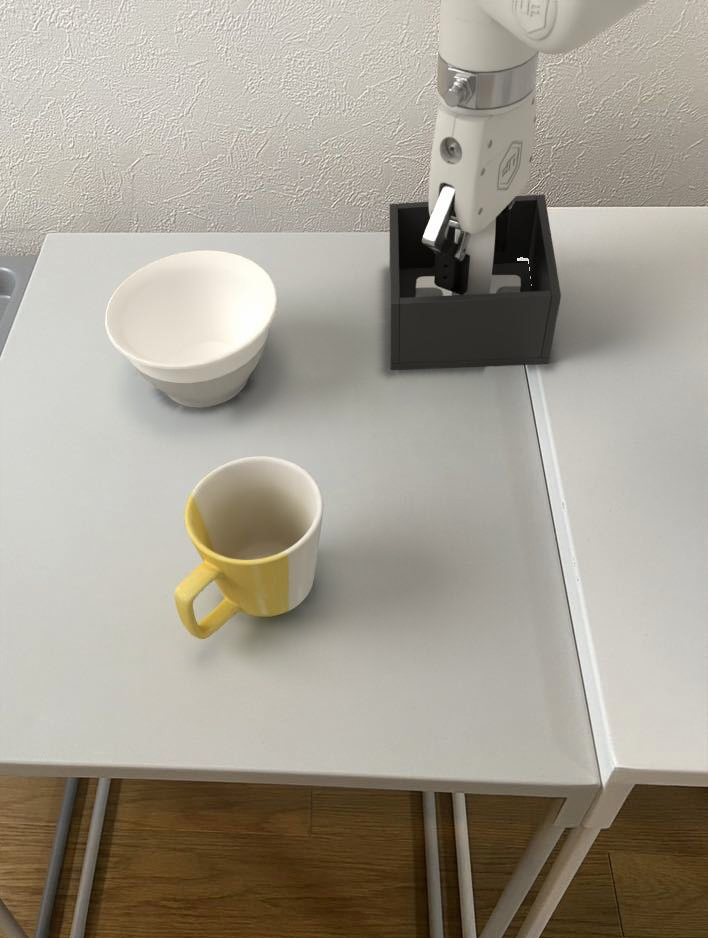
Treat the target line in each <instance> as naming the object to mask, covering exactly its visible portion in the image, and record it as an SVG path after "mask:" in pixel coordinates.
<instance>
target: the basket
mask: <svg viewBox="0 0 708 938" xmlns="http://www.w3.org/2000/svg"><path fill="white" fill-rule="evenodd" d="M507 211H509V212H511V217H510V225H509V234H508V243H507V248H506V249H505V250H504V251H503V252H498V251H495V250H494V257H493V267H492V275H517V276H519V277H520V279H521V288H520V292H511V293H491V294H470V295H450V296H429V297H416V280H417V279H418V278H419V277H424V276H434V275H435V253H434V252H433V251H432V250H431V249H430V248H429V247H427V246H426V245H424V244H423V243H422V238H423V235H424V233H425V230H426V228H427V225H428V223H429V220H430V214H429V202H428V201H416V202H415V201H414V202H402V203H401V202H400V203H389V259H388V260H389V263H388V264H389V339H390V340H389V344H390V345H389V346H390V347H389V348H390V349H389V350H390V355H389V356H390V357H389V358H390V360H389V361H390V370H415V369H416V370H417V369H441V368H442V369H443V368H467V367H469V368H470V367H494V366H495V367H496V366H520V365H521V366H522V365H543V364H544V365H546V364H549V362H550V357H551V352H552V347H553V342H554V341H553V340H554V337H555V332H556V331H555V330H556V324H557V321H558V316H559V315H558V314H559V309H560V304H561V298H562V294H561V288H560V287H561V286H560V281H559V274H558V268H557V262H556V255H555V249H554V243H553V238H552V231H551V230H552V229H551V224H550V219H549V211H548V207H547V200H546V195H545V194H526V195H517V196H516V197H515V201H514V204H513V207H512V208H511V209H510V210H507ZM452 216H454V217H456V213H455V211H454V212H453V214H452ZM455 230H456V229H455V228H452V227H449V228H448V232H447V236H446V237H447V239H449V240H452V241H453V242H455ZM520 257H523V258H528V259H529V264H528V261H517V258H520ZM529 267H530V271H529ZM530 276H531V279H530ZM531 284H532V286H531Z"/></svg>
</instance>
